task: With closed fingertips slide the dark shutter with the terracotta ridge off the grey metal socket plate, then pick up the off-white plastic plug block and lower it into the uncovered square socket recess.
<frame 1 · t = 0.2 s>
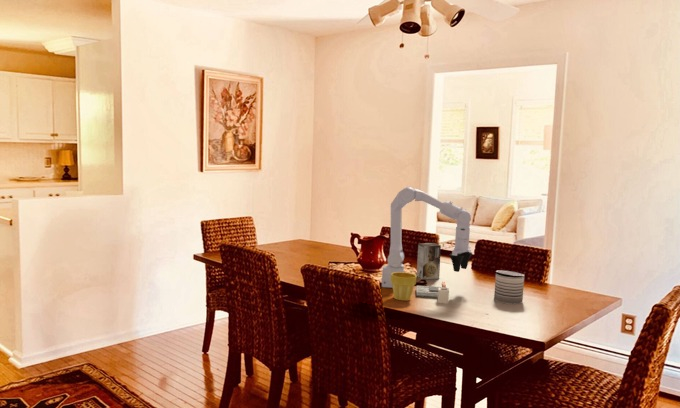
hand: (460, 269, 239), 10 cm above the table, tool pointing down, fingers open, 7 cm apart
coffee box: (427, 278, 265), on the table
plug: (442, 301, 225), on the table
can: (508, 300, 231), on the table
socket plate: (431, 294, 235), on the table
shutter: (437, 286, 234), point 4 cm above the table, slide at 0.0 cm
plant pot: (402, 298, 227), on the table
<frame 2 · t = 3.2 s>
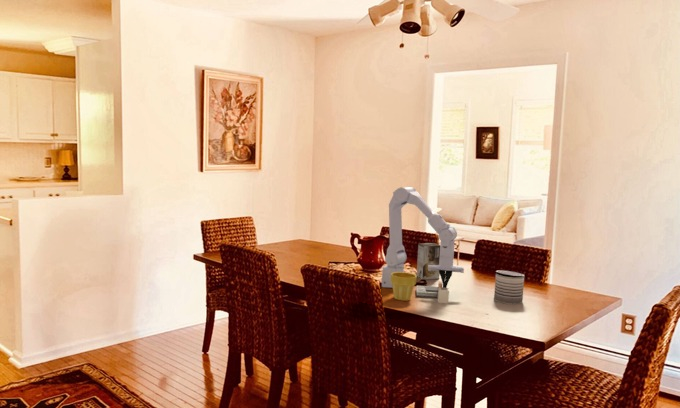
hand: (444, 288, 234), 3 cm above the table, tool pointing down, fingers closed
shutter: (433, 286, 234), point 4 cm above the table, slide at 1.4 cm, touching gripper
everything else where it was.
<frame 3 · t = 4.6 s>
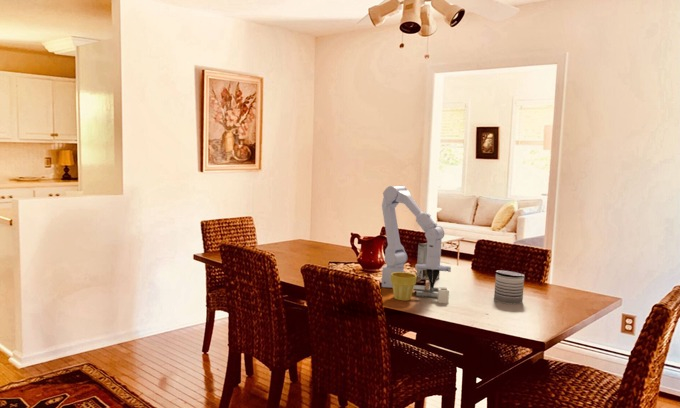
hand: (431, 287, 235), 3 cm above the table, tool pointing down, fingers closed
shutter: (421, 285, 235), point 4 cm above the table, slide at 6.7 cm, touching gripper
everything else where it was.
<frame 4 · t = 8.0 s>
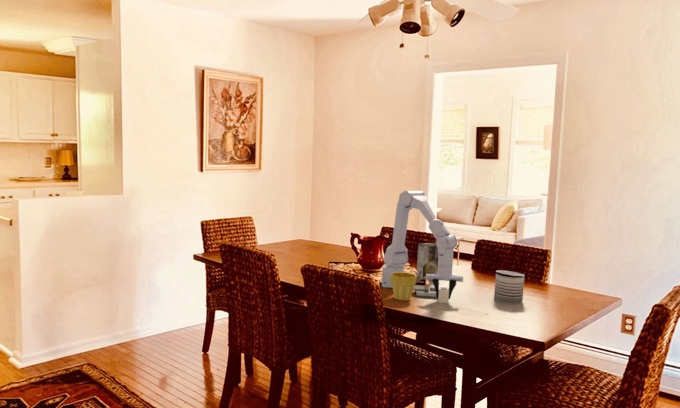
hand: (443, 298, 224), 1 cm above the table, tool pointing down, fingers closed on plug, 4 cm apart
plug: (442, 301, 225), on the table, touching gripper
shutter: (421, 285, 235), point 4 cm above the table, slide at 6.8 cm
everything else where it was.
when the fingers open (3 cm above the table, at t = 11.1 s): plug stays where it is, resting on socket plate.
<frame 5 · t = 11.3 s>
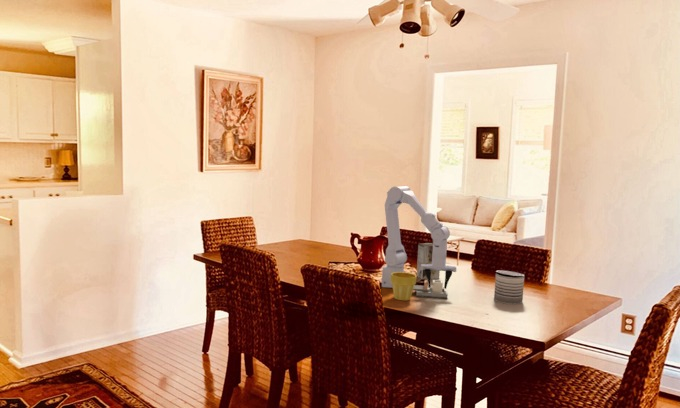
hand: (437, 287, 234), 3 cm above the table, tool pointing down, fingers open, 6 cm apart
plug: (436, 293, 234), point 1 cm above the table, touching socket plate
shutter: (419, 285, 235), point 4 cm above the table, slide at 7.4 cm, touching gripper
everything else where it was.
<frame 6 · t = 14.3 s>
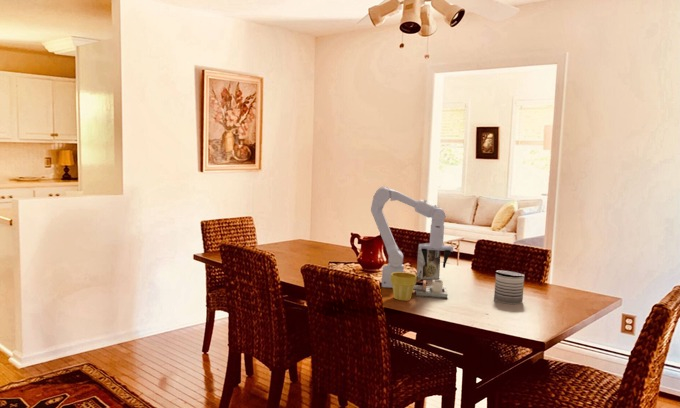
hand: (434, 266, 243), 10 cm above the table, tool pointing down, fingers open, 7 cm apart
shutter: (418, 285, 235), point 4 cm above the table, slide at 7.9 cm
everything else where it was.
at the end: plug 0.3 cm from the target spot on the socket plate, point 0.6 cm above the socket plate's base; shutter slide at 7.9 cm; plug tilted 0° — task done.
